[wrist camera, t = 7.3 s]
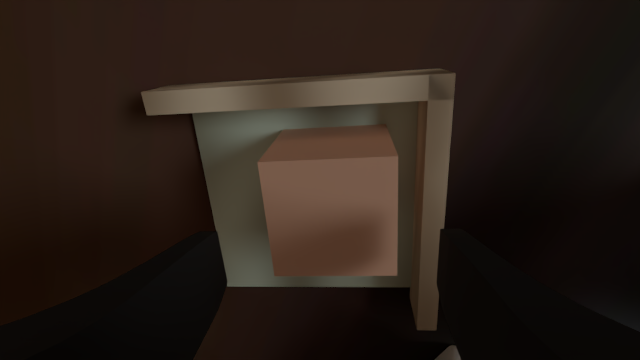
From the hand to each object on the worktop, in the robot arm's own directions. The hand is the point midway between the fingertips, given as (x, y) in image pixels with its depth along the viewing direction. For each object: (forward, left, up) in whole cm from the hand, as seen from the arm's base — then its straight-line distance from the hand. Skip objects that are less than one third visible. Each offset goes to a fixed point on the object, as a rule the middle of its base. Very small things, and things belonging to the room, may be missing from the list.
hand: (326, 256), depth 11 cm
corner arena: (0, +1, -7) cm, 8 cm away
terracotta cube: (0, 0, -7) cm, 7 cm away
